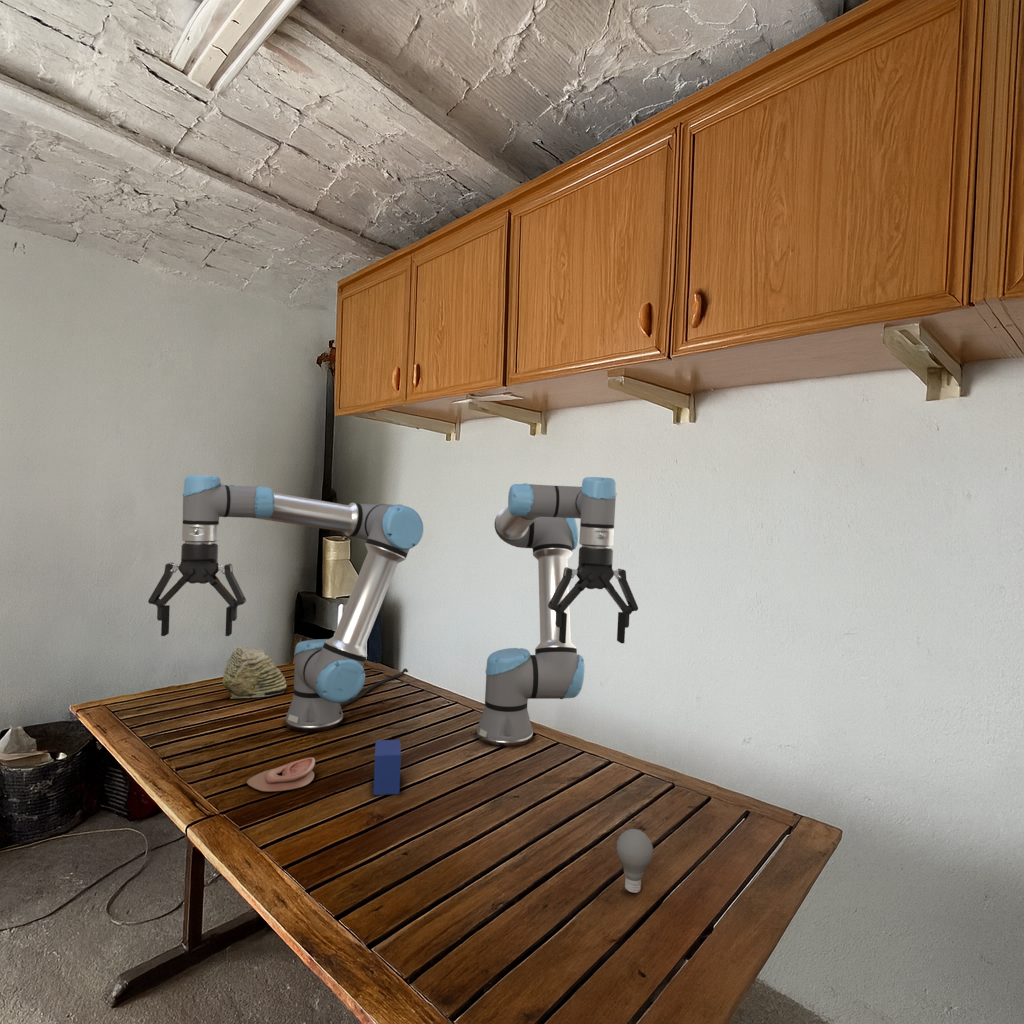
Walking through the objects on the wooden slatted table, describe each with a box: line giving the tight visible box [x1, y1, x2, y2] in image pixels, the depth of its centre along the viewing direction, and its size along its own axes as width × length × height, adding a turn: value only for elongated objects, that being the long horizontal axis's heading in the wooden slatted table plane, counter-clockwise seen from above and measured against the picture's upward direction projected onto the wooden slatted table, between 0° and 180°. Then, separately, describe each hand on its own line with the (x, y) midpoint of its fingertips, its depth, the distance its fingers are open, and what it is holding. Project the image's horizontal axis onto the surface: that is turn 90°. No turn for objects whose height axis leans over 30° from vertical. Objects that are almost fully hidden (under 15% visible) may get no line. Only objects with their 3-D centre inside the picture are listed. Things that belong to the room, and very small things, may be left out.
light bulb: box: [615, 828, 654, 894], centre depth 106 cm, size 6×6×10 cm
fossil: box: [222, 646, 288, 699], centre depth 198 cm, size 9×18×15 cm, turn 132°
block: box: [373, 739, 402, 796], centre depth 140 cm, size 8×6×9 cm, turn 11°
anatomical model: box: [246, 757, 316, 792], centre depth 140 cm, size 13×4×12 cm
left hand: (197, 635), depth 145 cm, fingers open, 13 cm apart
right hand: (591, 642), depth 141 cm, fingers open, 13 cm apart
